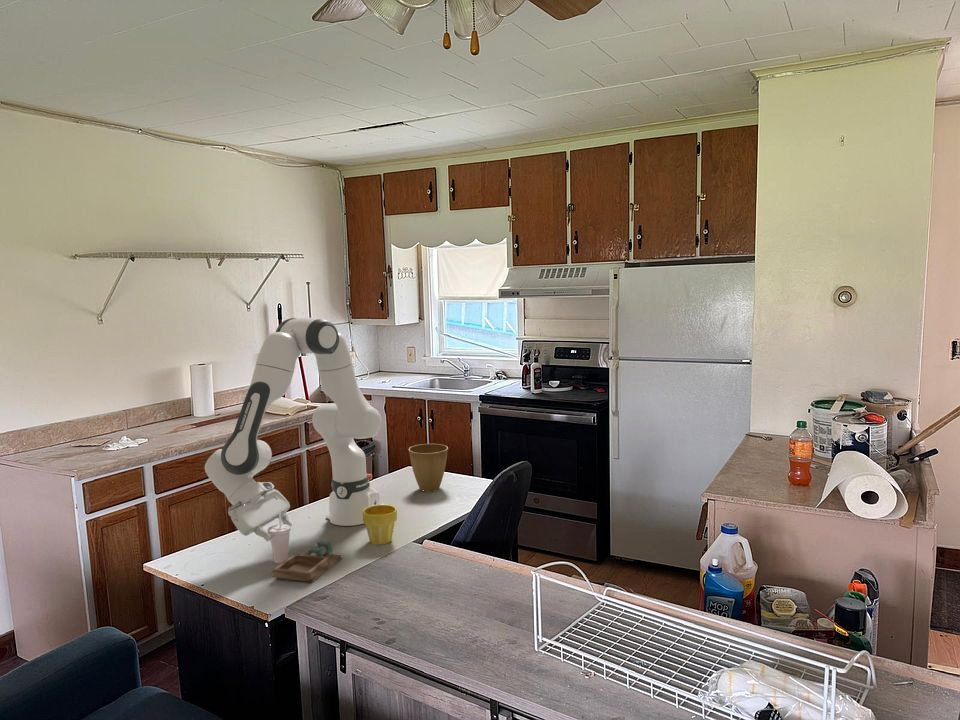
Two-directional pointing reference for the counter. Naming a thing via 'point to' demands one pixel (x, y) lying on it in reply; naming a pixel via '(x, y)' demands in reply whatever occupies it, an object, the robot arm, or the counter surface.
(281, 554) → the smoothie
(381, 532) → the plant pot
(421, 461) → the plant pot
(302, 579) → the brown wooden tray
